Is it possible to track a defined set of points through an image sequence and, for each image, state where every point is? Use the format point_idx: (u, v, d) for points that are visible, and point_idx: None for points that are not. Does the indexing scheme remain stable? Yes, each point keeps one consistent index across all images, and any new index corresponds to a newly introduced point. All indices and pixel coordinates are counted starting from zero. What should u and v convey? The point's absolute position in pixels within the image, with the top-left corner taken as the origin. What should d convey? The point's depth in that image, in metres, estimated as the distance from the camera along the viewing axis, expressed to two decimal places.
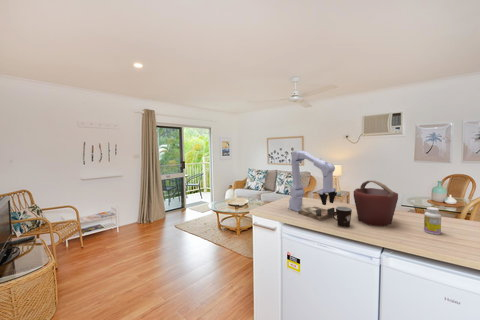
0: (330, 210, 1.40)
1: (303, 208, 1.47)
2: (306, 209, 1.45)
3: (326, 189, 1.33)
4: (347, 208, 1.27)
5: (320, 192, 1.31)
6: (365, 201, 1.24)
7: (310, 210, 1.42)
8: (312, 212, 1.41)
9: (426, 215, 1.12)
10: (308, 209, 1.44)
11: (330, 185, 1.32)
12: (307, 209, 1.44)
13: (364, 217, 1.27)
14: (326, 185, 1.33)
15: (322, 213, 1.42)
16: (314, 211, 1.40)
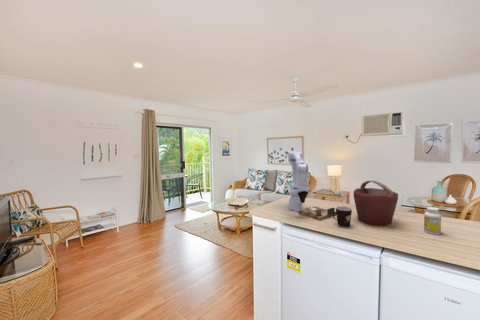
0: (330, 210, 1.40)
1: (303, 208, 1.47)
2: (306, 209, 1.45)
3: (300, 188, 1.38)
4: (347, 208, 1.27)
5: (294, 191, 1.37)
6: (365, 201, 1.24)
7: (310, 210, 1.42)
8: (312, 212, 1.41)
9: (426, 215, 1.12)
10: (308, 209, 1.44)
11: (304, 184, 1.38)
12: (307, 209, 1.44)
13: (364, 217, 1.27)
14: (300, 184, 1.39)
15: (322, 213, 1.42)
16: (314, 211, 1.40)
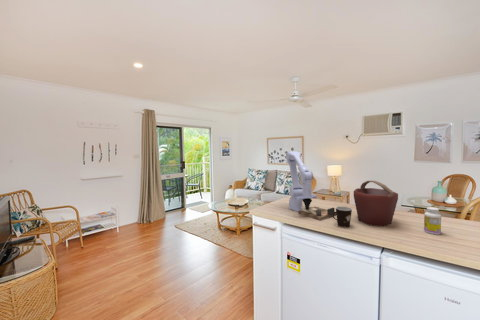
0: (330, 210, 1.40)
1: (303, 208, 1.47)
2: None
3: (304, 195, 1.42)
4: (347, 208, 1.27)
5: (297, 198, 1.41)
6: (365, 201, 1.24)
7: (310, 210, 1.42)
8: (312, 212, 1.41)
9: (426, 215, 1.12)
10: (308, 209, 1.44)
11: (307, 192, 1.40)
12: None
13: (364, 217, 1.27)
14: (304, 191, 1.42)
15: (322, 213, 1.42)
16: (314, 211, 1.40)
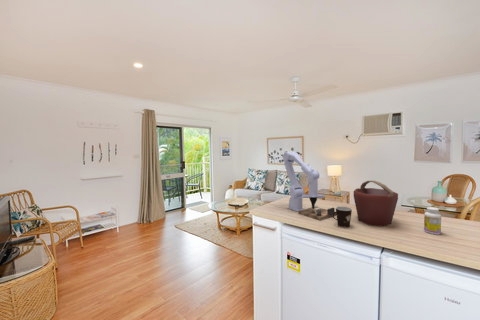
0: (330, 210, 1.40)
1: None
2: None
3: (309, 194, 1.45)
4: (347, 208, 1.27)
5: (302, 196, 1.47)
6: (365, 201, 1.24)
7: (314, 209, 1.44)
8: (315, 211, 1.43)
9: (426, 215, 1.12)
10: None
11: (312, 191, 1.43)
12: None
13: (364, 217, 1.27)
14: (309, 190, 1.45)
15: (322, 213, 1.42)
16: (315, 210, 1.41)
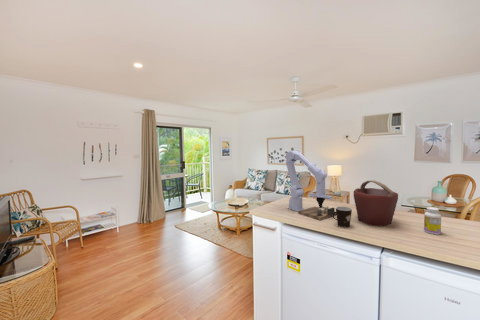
0: (330, 210, 1.40)
1: None
2: None
3: (316, 194, 1.46)
4: (347, 208, 1.27)
5: None
6: (365, 201, 1.24)
7: None
8: None
9: (426, 215, 1.12)
10: None
11: (317, 191, 1.44)
12: None
13: (364, 217, 1.27)
14: None
15: None
16: None
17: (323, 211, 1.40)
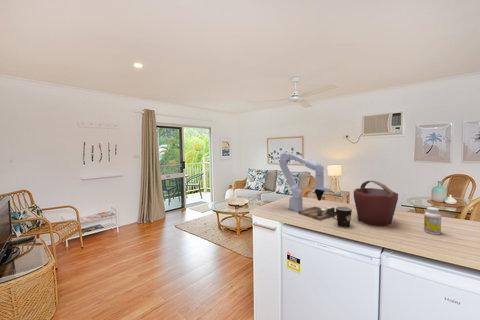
0: (330, 210, 1.40)
1: None
2: None
3: None
4: (347, 208, 1.27)
5: None
6: (365, 201, 1.24)
7: None
8: None
9: (426, 215, 1.12)
10: None
11: (315, 183, 1.50)
12: None
13: (364, 217, 1.27)
14: None
15: None
16: None
17: (324, 211, 1.39)
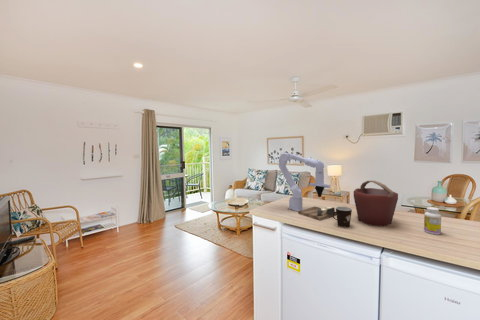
0: (330, 210, 1.40)
1: None
2: None
3: None
4: (347, 208, 1.27)
5: None
6: (365, 201, 1.24)
7: None
8: None
9: (426, 215, 1.12)
10: None
11: (316, 180, 1.52)
12: None
13: (364, 217, 1.27)
14: None
15: None
16: None
17: (324, 211, 1.39)
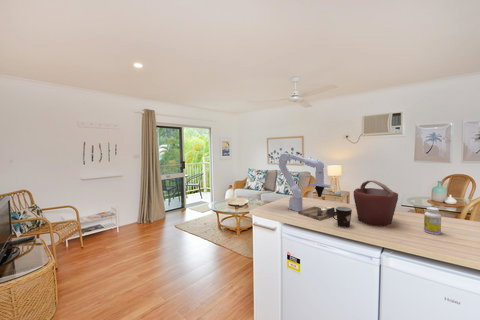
0: (330, 210, 1.40)
1: None
2: None
3: None
4: (347, 208, 1.27)
5: None
6: (365, 201, 1.24)
7: None
8: None
9: (426, 215, 1.12)
10: None
11: (316, 180, 1.52)
12: None
13: (364, 217, 1.27)
14: None
15: None
16: None
17: (324, 211, 1.39)
